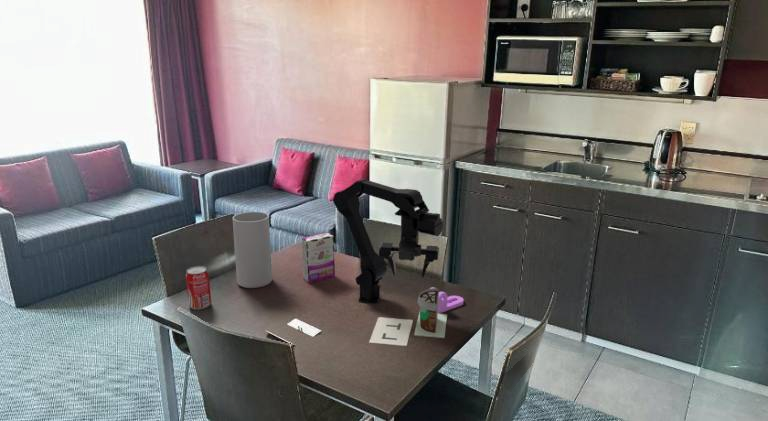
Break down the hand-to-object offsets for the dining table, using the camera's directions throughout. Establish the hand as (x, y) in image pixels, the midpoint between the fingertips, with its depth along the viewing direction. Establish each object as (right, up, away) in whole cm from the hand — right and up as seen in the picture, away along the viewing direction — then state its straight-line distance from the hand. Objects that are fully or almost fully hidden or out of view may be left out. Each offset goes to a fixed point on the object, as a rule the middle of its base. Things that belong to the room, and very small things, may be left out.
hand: (408, 276), depth 176 cm
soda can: (-69, -11, +5) cm, 70 cm away
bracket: (+13, -11, +7) cm, 19 cm away
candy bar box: (-32, -4, +28) cm, 43 cm away
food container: (+5, -14, -7) cm, 17 cm away
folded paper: (-35, -16, -12) cm, 41 cm away
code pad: (-6, -15, -10) cm, 19 cm away
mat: (+7, -14, -6) cm, 17 cm away
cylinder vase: (-55, -5, +24) cm, 60 cm away
